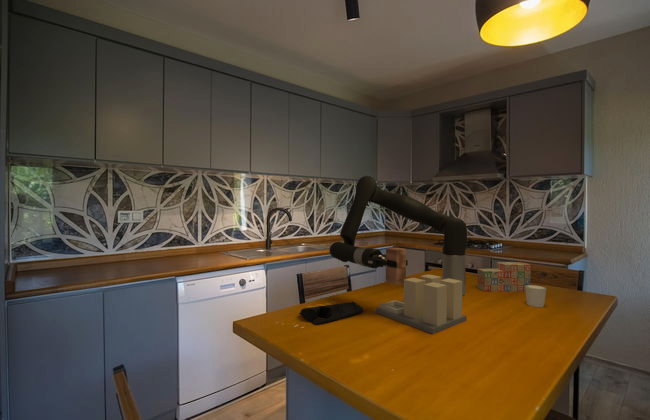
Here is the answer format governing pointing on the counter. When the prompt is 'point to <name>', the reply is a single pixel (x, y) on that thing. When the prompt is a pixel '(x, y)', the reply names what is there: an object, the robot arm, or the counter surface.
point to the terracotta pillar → (398, 273)
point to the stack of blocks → (505, 277)
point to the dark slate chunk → (330, 312)
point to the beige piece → (535, 295)
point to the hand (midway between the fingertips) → (401, 263)
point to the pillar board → (427, 304)
